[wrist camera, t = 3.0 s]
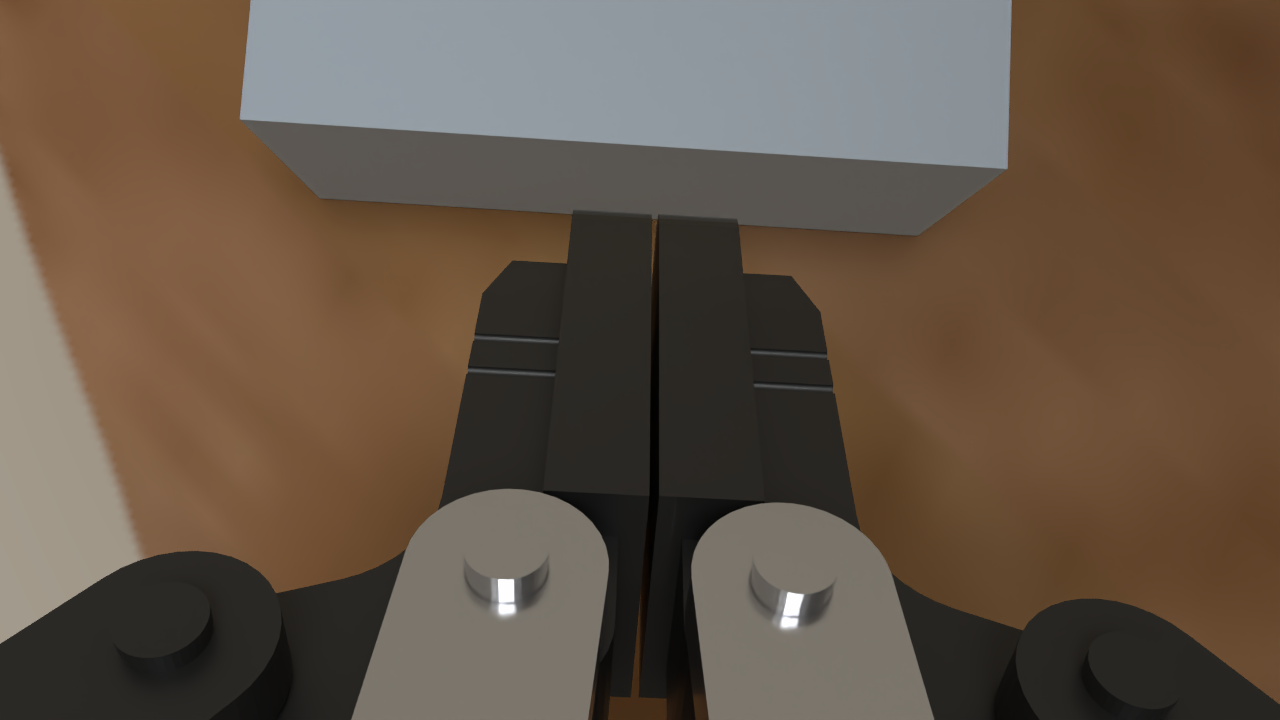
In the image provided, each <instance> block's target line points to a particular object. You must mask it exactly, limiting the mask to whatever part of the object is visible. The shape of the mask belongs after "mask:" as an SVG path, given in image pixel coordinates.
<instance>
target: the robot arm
mask: <svg viewBox="0 0 1280 720" xmlns="http://www.w3.org/2000/svg"><path fill="white" fill-rule="evenodd" d="M651 259H652V214H643V213H626V212H609V211H591V210H574V209H573V215H572V223H571V233H570V242H569V251H568V261H567V264H563V263H545V262H528V261H512V262H511V263H510V264H509V265H508V266H507V267H506V268H505V269H504V270H503V272H502V273H501V274H500V275H499V276H498V277H497V278H496V279H495V280H494V281H493V283H492V284H491V285H490V286H489V287H488V288H487V289H486V290H485V291H484V292H483V294H482V299H481V304H480V309H479V314H478V319H477V324H476V329H475V338H474V341H473V344H472V349H471V354H470V359H469V364H468V374H466V379H465V384H464V389H463V394H462V399H461V404H460V409H459V414H458V419H457V424H456V429H455V434H454V439H453V444H452V450H451V455H450V460H449V465H448V470H447V475H446V480H445V485H444V490H443V495H442V499H441V502H440V505H439V508H438V511H437V512H435V513H434V514H432V515H431V516H430V517H429V518H428V519H427V520H426V521H425V522H424V523H423V524H422V525H421V526H420V527H419V528H418V530H417V531H416V532H415V534H414V535H413V537H412V538H411V540H410V542H409V545H408V547H407V549H406V550H405V551H403V552H402V553H400V554H399V555H398V556H396V557H395V558H393V559H391V560H390V561H388V562H386V563H384V564H382V565H380V566H379V567H376V568H374V569H371V570H369V571H366V572H364V573H362V574H359V575H355V576H352V577H348V578H344V579H341V580H336V581H332V582H327V583H322V584H318V585H313V586H309V587H304V588H299V589H295V590H290V591H286V592H281V593H275V591H274V590H273V588H272V586H271V585H270V583H269V582H268V581H267V580H266V578H265V577H264V576H263V575H262V574H261V573H260V572H259V571H257V570H256V569H254V568H253V567H251V566H250V565H248V564H247V563H245V562H242V561H240V560H238V559H235V558H233V557H230V556H226V555H222V554H218V553H212V552H201V551H187V552H174V553H168V554H162V555H157V556H154V557H150V558H147V559H143V560H140V561H137V562H135V563H132V564H130V565H128V566H125V567H123V568H120V569H119V570H117V571H115V572H113V573H111V574H110V575H108V576H106V577H104V578H103V579H101V580H100V581H98V582H97V583H95V584H93V585H92V586H90V587H89V588H87V589H85V590H84V591H82V592H81V593H79V594H78V595H76V596H75V597H73V598H72V599H70V600H68V601H67V602H65V603H63V604H62V605H60V606H59V607H57V608H56V609H54V610H53V611H51V612H49V613H48V614H46V615H45V616H43V617H42V618H40V619H39V620H37V621H36V622H34V623H32V624H31V625H29V626H28V627H26V628H24V629H23V630H21V631H20V632H18V633H17V634H15V635H14V636H12V637H10V638H9V639H7V640H6V641H4V642H2V643H1V644H0V720H608V713H609V699H610V696H613V697H631V687H632V676H633V666H634V655H635V644H636V634H637V623H638V612H639V602H640V657H639V697H646V698H667V720H1280V705H1279V704H1278V703H1277V702H1275V701H1274V700H1273V699H1272V698H1270V697H1269V696H1268V695H1266V694H1265V693H1264V692H1262V691H1261V690H1260V689H1258V688H1257V687H1256V686H1254V685H1253V684H1252V683H1251V682H1249V681H1248V680H1247V679H1245V678H1244V677H1243V676H1241V675H1240V674H1239V673H1237V672H1236V671H1235V670H1233V669H1232V668H1231V667H1230V666H1228V665H1227V664H1226V663H1224V662H1223V661H1222V660H1220V659H1219V658H1218V657H1216V656H1215V655H1214V654H1212V653H1211V652H1210V651H1209V650H1207V649H1206V648H1205V647H1203V646H1202V645H1201V644H1199V643H1198V642H1197V641H1195V640H1194V639H1193V638H1192V637H1190V636H1189V635H1188V634H1186V633H1185V632H1183V631H1182V630H1180V629H1179V628H1177V627H1176V626H1174V625H1173V624H1171V623H1170V622H1168V621H1166V620H1164V619H1162V618H1160V617H1158V616H1156V615H1155V614H1153V613H1150V612H1147V611H1145V610H1142V609H1140V608H1137V607H1135V606H1131V605H1128V604H1124V603H1120V602H1116V601H1109V600H1102V599H1077V600H1070V601H1064V602H1061V603H1058V604H1055V605H1052V606H1050V607H1048V608H1046V609H1045V610H1043V611H1041V612H1039V613H1038V614H1037V615H1036V616H1035V617H1034V618H1033V619H1032V620H1031V621H1029V622H1028V624H1027V626H1026V627H1025V629H1024V630H1023V631H1022V630H1019V629H1016V628H1013V627H1009V626H1006V625H1003V624H1000V623H997V622H994V621H991V620H988V619H984V618H981V617H978V616H975V615H972V614H969V613H966V612H963V611H959V610H956V609H953V608H951V607H948V606H946V605H943V604H940V603H938V602H935V601H933V600H931V599H929V598H927V597H925V596H924V595H922V594H920V593H918V592H916V591H915V590H913V589H912V588H910V587H909V586H907V585H906V584H904V583H903V582H901V581H900V580H899V579H898V578H897V577H895V576H894V575H893V574H892V573H891V572H890V570H889V567H888V565H887V562H886V561H885V559H884V558H883V556H882V554H881V553H880V551H879V550H878V549H877V547H876V546H875V545H874V544H873V543H872V542H871V541H870V540H869V538H868V537H866V536H865V535H864V534H863V533H862V532H861V531H860V527H859V524H858V520H857V516H856V511H855V505H854V499H853V494H852V488H851V483H850V477H849V471H848V466H847V460H846V454H845V449H844V443H843V438H842V432H841V426H840V421H839V415H838V410H837V404H836V398H835V394H833V381H832V376H831V370H830V365H829V360H827V348H826V342H825V336H824V331H823V325H822V320H821V314H820V311H819V310H818V309H817V308H816V306H815V305H814V304H813V303H812V301H811V300H810V299H809V298H808V296H807V295H806V294H805V293H804V291H803V290H802V289H801V288H800V286H799V285H798V284H797V283H796V281H795V280H794V279H793V278H792V277H791V276H780V275H763V274H745V273H743V268H742V257H741V247H740V237H739V227H738V221H737V219H734V218H717V217H700V216H683V215H665V214H658V219H657V227H656V238H655V250H654V262H653V274H652V286H651ZM640 591H641V592H640Z"/></svg>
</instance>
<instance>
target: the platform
mask: <svg viewBox="0 0 1280 720" xmlns="http://www.w3.org/2000/svg"><path fill="white" fill-rule="evenodd" d="M1011 5H1012V0H251V5H250V16H249V27H248V37H247V48H246V59H245V70H244V80H243V91H242V102H241V113H240V120H241V121H242V122H243V123H244V124H245V125H246V126H247V127H248V128H249V129H250V130H251V131H252V132H253V133H254V134H255V135H256V136H257V137H258V138H259V139H260V140H261V141H262V142H263V143H264V144H265V145H266V146H267V147H268V148H269V149H270V150H271V151H272V152H273V153H274V154H275V155H276V156H277V157H278V158H279V159H280V160H281V161H282V162H283V163H284V164H285V165H286V166H287V167H288V168H289V169H290V170H291V171H292V172H293V173H294V174H295V175H296V176H297V177H298V178H299V179H300V180H301V181H302V182H304V183H305V184H306V185H307V186H308V187H309V188H310V189H311V190H312V191H313V192H314V193H315V194H316V195H317V196H318V197H319V198H322V199H337V200H353V201H369V202H385V203H401V204H417V205H433V206H449V207H465V208H481V209H497V210H513V211H529V212H545V213H561V214H573V209H574V210H591V211H609V212H626V213H643V214H652V219H658V214H665V215H683V216H700V217H717V218H734V219H737V221H738V225H752V226H768V227H784V228H800V229H816V230H832V231H848V232H864V233H880V234H896V235H912V236H919V235H920V234H921V233H923V232H924V231H925V230H927V229H928V228H929V227H931V226H932V225H933V224H935V223H936V222H937V221H939V220H940V219H941V218H943V217H944V216H945V215H947V214H948V213H949V212H951V211H952V210H953V209H955V208H956V207H957V206H959V205H960V204H961V203H963V202H964V201H965V200H967V199H968V198H969V197H971V196H972V195H973V194H975V193H976V192H977V191H979V190H980V189H981V188H983V187H984V186H985V185H987V184H988V183H989V182H991V181H992V180H993V179H995V178H996V177H997V176H999V175H1000V174H1001V173H1003V172H1004V171H1005V170H1007V169H1008V128H1009V87H1010V46H1011Z"/></svg>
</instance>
